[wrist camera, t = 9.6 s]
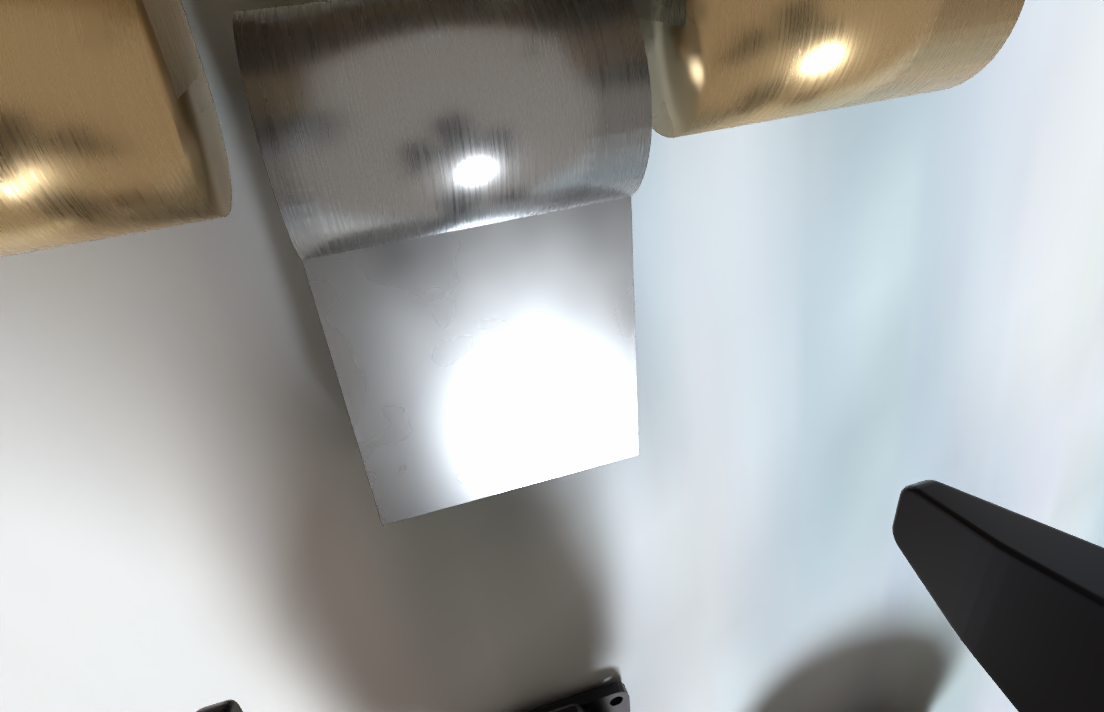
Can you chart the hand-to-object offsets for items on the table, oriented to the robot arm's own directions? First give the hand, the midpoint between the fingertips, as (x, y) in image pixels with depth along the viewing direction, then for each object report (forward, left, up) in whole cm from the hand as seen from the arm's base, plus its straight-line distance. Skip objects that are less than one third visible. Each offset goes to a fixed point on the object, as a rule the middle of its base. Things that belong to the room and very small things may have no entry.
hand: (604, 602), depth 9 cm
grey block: (+2, 0, -9) cm, 9 cm away
